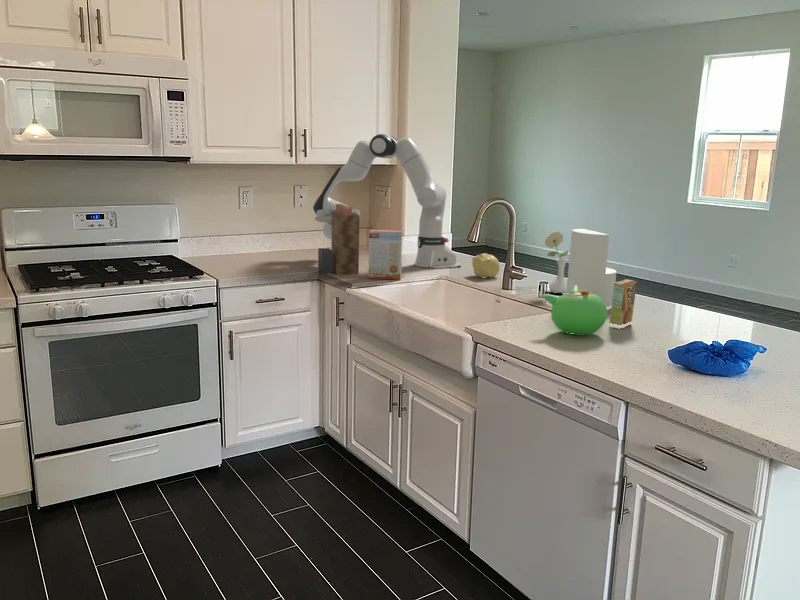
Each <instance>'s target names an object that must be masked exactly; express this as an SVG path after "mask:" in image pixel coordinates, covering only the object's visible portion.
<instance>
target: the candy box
mask: <svg viewBox="0 0 800 600" xmlns="http://www.w3.org/2000/svg"><path fill="white" fill-rule="evenodd" d="M637 283H638V281H637V280H632V279H626V278H625V279H622V280H620V281H615V283H614V289H613V298H612V307H611V310H610V317H609V323H612V324H617V325H622V324H626V323H628V322H631V321H632V322H633V315H634V309H635V299H636V294H637V293H636V292H637Z"/></svg>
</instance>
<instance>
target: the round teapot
mask: <svg viewBox="0 0 800 600" xmlns="http://www.w3.org/2000/svg"><path fill="white" fill-rule="evenodd" d="M541 297H542V299H544V300H545V301H547V303H549V304H550V305H552V307H551V312H550V315H551V319H552V322H553V324H554V325H555V326H556V327H557V328H558V330H560V331H561V332H563V331H564V333H565V332H568V333H574V334H586V335H590V334H593V333H595V332H596V331H598V330H600V329H601V328H602V327H603V326H604V325H605V322H606V321H607V317H608V310H607V308H606V305H605V303H604V302H603V300H602V299H601V298H600V297H599V296H597V295H595V294H593V293H591V292H589V291H583V290H579V288H578V286H577V285H575V286H573V288H572V289H571V291H570V292H568V293H565V294H560V295H553V294H547V293H546V294H545V293H544V294H541ZM568 333H567V334H568ZM589 333H590V334H589Z"/></svg>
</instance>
